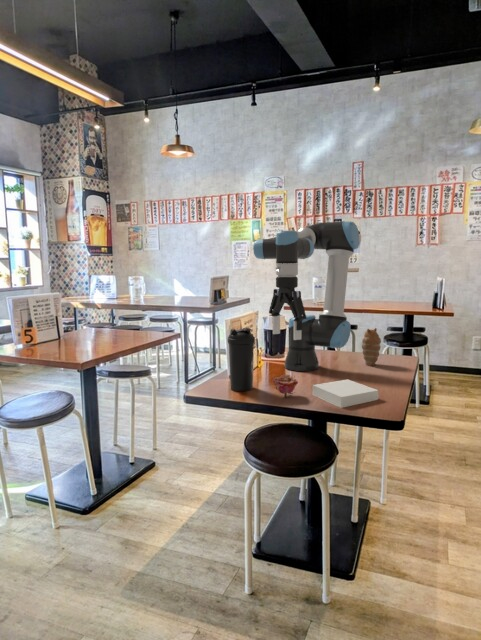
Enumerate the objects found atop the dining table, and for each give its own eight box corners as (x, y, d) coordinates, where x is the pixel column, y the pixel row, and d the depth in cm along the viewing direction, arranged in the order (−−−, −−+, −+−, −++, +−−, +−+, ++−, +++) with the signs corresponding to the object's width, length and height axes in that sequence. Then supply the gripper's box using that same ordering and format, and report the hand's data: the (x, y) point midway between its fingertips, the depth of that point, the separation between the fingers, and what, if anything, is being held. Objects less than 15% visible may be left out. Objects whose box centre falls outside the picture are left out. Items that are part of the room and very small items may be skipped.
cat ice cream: (369, 370, 197) (370, 330, 194) (356, 367, 204) (357, 327, 201) (384, 368, 201) (385, 328, 199) (371, 364, 208) (372, 326, 206)
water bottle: (257, 391, 169) (256, 330, 166) (230, 392, 167) (229, 331, 164) (252, 383, 179) (251, 326, 176) (226, 385, 177) (225, 327, 174)
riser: (312, 395, 162) (312, 385, 162) (347, 389, 169) (347, 379, 169) (341, 408, 148) (341, 397, 148) (378, 401, 155) (378, 390, 155)
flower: (297, 401, 156) (297, 378, 155) (271, 400, 158) (270, 378, 157) (298, 393, 166) (298, 372, 165) (273, 392, 168) (273, 371, 166)
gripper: (259, 275, 165) (259, 332, 168) (298, 277, 143) (297, 343, 146) (277, 274, 169) (277, 330, 172) (317, 276, 147) (316, 341, 150)
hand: (286, 336), depth 159 cm, fingers open, 13 cm apart
